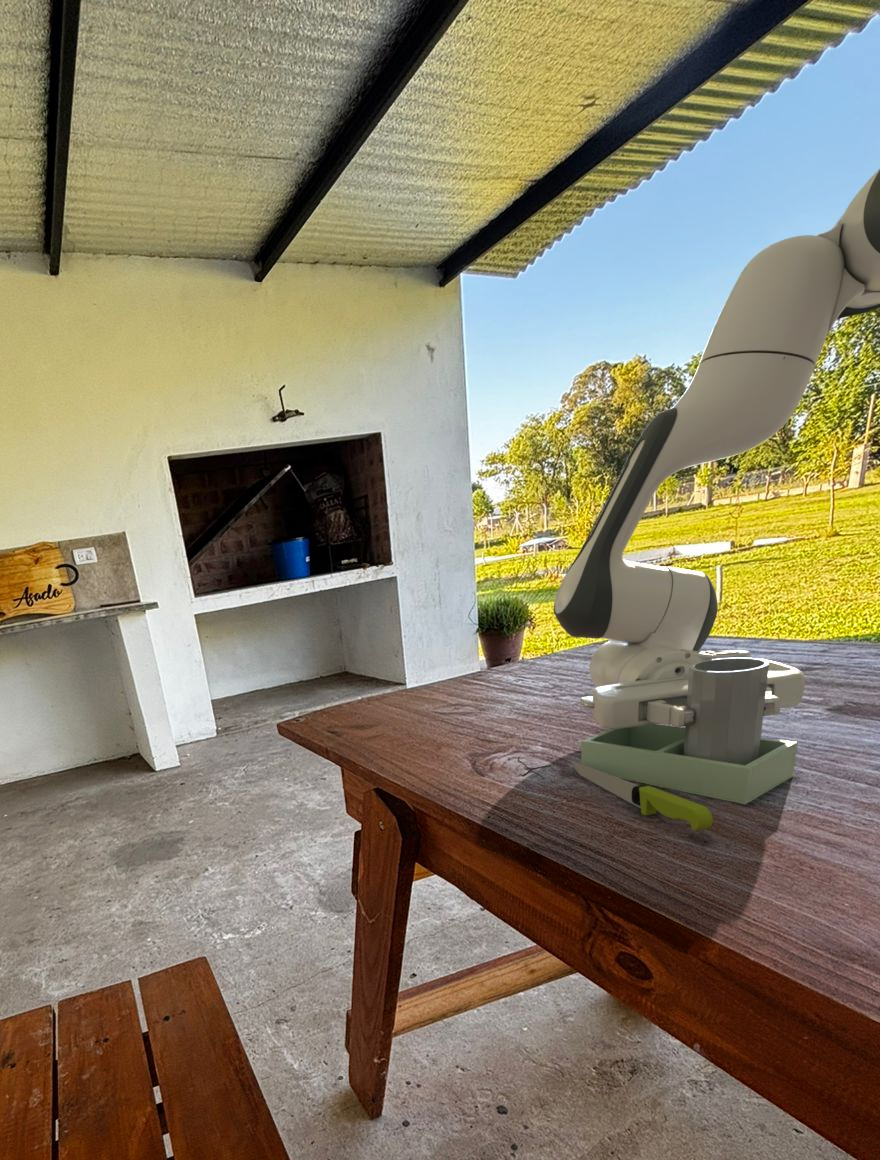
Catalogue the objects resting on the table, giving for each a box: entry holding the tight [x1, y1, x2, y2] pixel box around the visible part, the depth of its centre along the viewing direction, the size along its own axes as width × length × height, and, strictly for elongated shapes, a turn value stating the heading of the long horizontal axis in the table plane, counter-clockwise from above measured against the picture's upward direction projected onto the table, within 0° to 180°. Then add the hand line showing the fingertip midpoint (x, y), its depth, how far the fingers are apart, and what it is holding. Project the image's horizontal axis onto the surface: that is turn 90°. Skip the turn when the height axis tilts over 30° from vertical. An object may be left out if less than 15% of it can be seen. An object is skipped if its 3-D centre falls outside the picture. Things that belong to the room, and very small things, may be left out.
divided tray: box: [580, 724, 798, 805], centre depth 68 cm, size 9×18×4 cm, turn 30°
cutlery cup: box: [683, 657, 769, 765], centre depth 63 cm, size 6×6×12 cm
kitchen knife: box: [571, 760, 714, 832], centre depth 64 cm, size 22×1×3 cm, turn 5°
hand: (729, 713), depth 62 cm, fingers closed on cutlery cup, 6 cm apart
